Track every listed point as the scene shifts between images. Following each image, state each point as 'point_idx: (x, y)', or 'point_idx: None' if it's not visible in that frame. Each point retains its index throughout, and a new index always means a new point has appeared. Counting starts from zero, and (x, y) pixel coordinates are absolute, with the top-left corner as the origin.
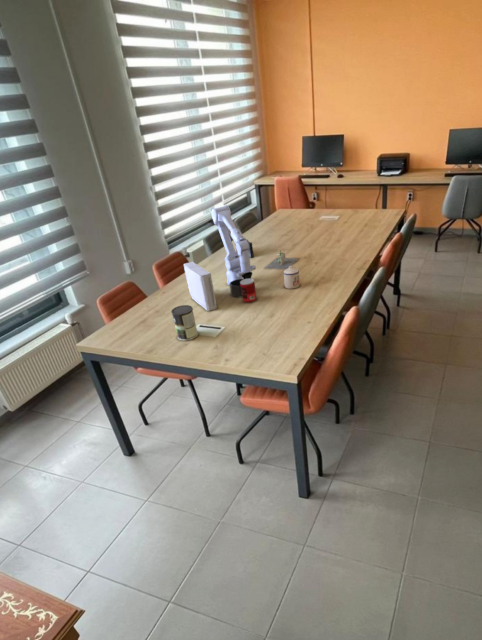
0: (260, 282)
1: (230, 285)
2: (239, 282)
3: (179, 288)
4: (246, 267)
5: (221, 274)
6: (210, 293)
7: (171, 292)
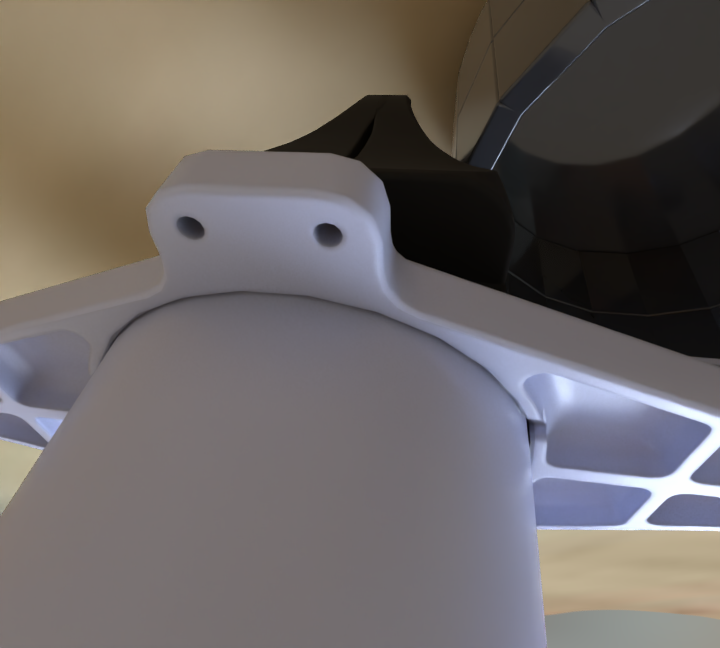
0: (68, 99)
1: None
2: (506, 291)
3: (592, 584)
4: (441, 578)
5: None
6: None
7: (675, 596)
